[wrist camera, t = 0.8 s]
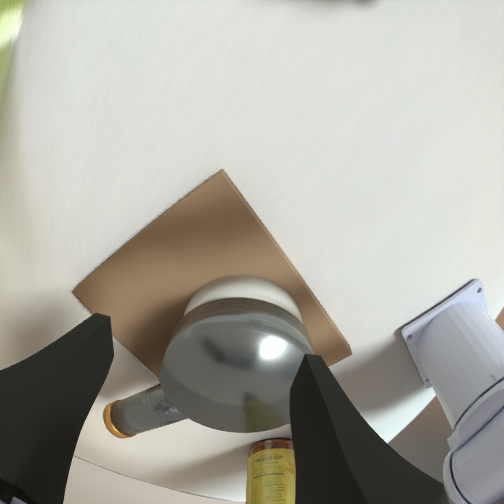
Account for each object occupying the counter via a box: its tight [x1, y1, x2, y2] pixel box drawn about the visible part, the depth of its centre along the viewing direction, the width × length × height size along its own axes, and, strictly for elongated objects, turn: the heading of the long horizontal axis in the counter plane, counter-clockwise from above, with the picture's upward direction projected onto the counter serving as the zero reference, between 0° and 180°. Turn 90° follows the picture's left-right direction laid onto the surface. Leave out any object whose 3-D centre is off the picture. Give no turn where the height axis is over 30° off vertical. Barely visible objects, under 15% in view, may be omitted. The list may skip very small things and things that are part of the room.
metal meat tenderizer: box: [103, 297, 314, 438], centre depth 18 cm, size 16×9×3 cm, turn 125°
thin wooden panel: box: [72, 169, 352, 377], centre depth 20 cm, size 16×14×4 cm
